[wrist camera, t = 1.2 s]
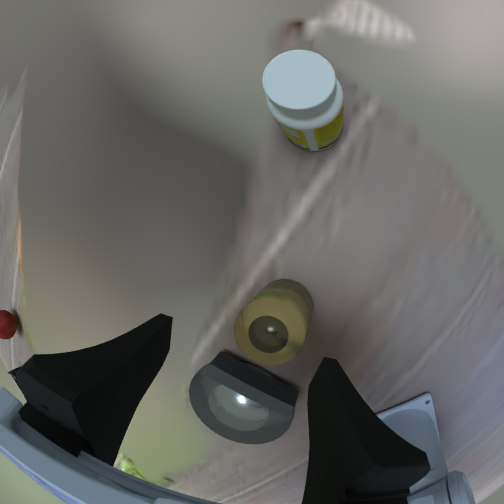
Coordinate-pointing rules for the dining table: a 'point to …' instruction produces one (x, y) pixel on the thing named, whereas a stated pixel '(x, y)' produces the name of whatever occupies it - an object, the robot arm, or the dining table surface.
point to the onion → (7, 324)
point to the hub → (275, 323)
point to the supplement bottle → (305, 98)
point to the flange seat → (242, 400)
